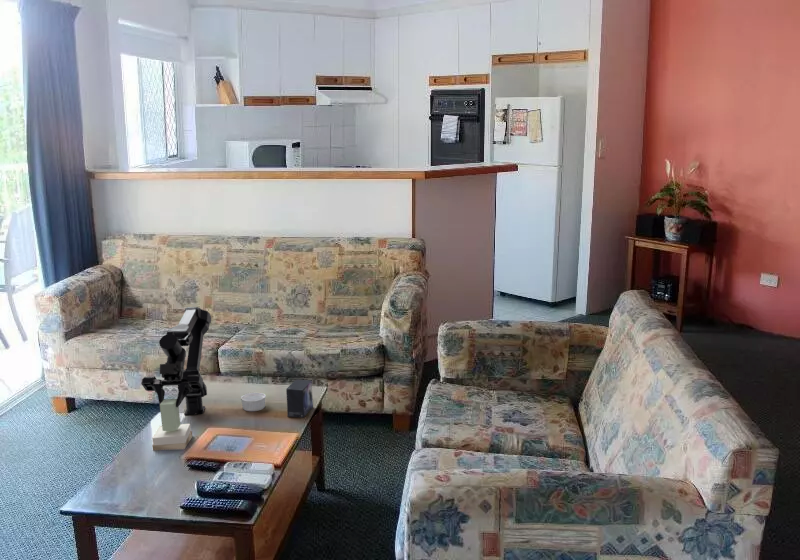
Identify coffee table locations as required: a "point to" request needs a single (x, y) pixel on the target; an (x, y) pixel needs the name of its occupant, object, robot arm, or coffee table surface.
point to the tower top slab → (172, 435)
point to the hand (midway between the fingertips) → (169, 407)
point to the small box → (299, 398)
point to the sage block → (169, 415)
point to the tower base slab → (173, 445)
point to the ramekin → (253, 401)
